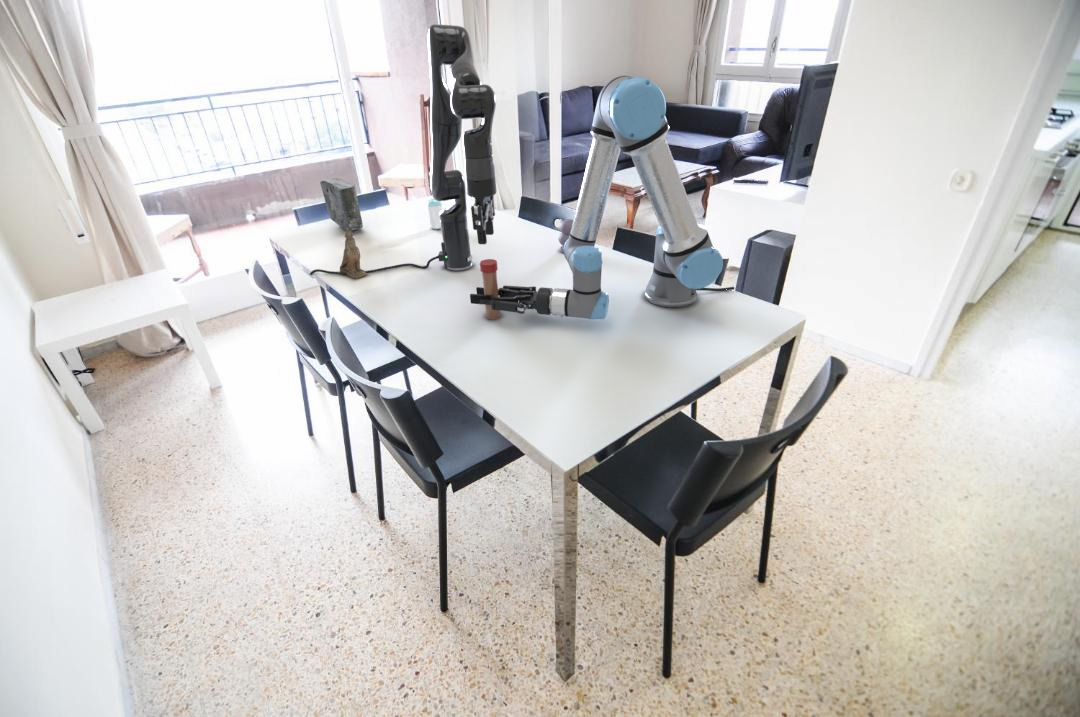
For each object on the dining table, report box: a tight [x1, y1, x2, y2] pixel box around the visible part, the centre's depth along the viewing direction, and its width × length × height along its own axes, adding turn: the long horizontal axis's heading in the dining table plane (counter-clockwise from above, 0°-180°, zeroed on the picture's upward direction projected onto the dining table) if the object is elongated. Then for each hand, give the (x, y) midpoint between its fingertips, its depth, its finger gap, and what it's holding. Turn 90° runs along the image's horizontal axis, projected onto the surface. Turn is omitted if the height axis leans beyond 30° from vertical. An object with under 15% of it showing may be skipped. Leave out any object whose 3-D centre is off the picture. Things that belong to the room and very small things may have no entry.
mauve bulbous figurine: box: [558, 218, 574, 254], centre depth 188 cm, size 8×8×12 cm
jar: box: [481, 270, 501, 320], centre depth 141 cm, size 4×4×16 cm
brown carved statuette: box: [339, 230, 367, 280], centre depth 174 cm, size 12×6×18 cm, turn 43°
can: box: [426, 198, 445, 230], centre depth 220 cm, size 7×7×12 cm
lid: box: [479, 258, 499, 273], centre depth 137 cm, size 5×5×2 cm
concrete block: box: [319, 177, 364, 232], centre depth 222 cm, size 27×9×20 cm, turn 36°
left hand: (486, 239), depth 133 cm, fingers open, 7 cm apart
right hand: (474, 295), depth 144 cm, fingers closed on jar, 4 cm apart
